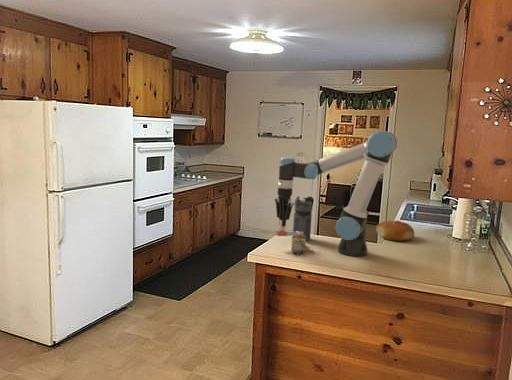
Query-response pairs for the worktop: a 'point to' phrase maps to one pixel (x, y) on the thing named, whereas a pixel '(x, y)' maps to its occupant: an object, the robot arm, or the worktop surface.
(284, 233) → the lever
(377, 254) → the worktop surface
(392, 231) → the bread
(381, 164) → the robot arm
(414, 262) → the worktop surface
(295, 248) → the valve pipe
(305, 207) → the beverage bottle
